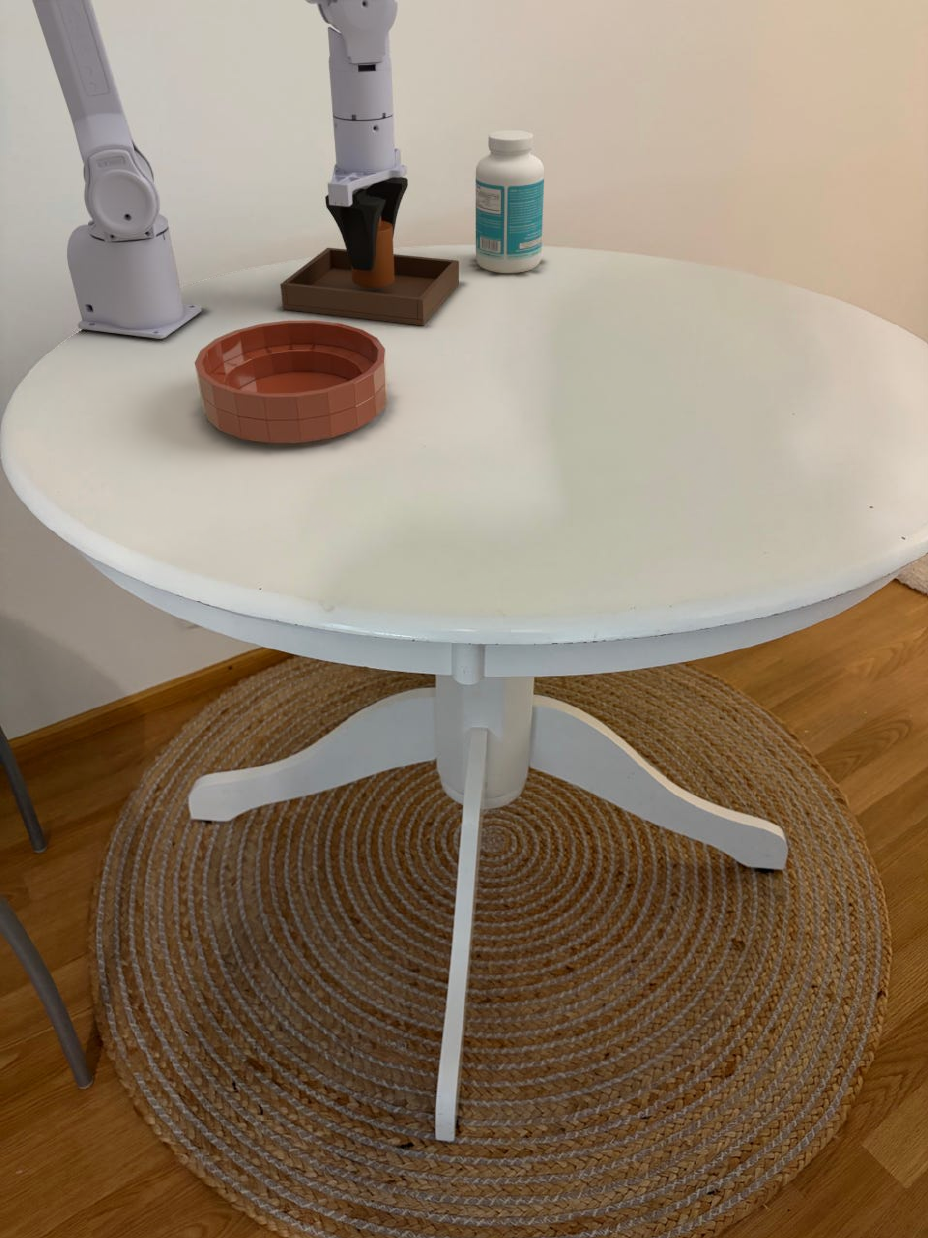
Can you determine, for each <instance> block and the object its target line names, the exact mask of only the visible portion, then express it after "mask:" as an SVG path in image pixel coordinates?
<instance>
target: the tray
mask: <svg viewBox="0 0 928 1238" xmlns="http://www.w3.org/2000/svg"><path fill="white" fill-rule="evenodd" d="M394 275H395V280H394V282H393V283H392V284H390V285H388V286H384V287H378V288H367V287H361V286H358V285H355V284H354V283H353V281H352V267H351V262H350V259H349V256H348V253H347V249H346V248H336V247H326V248H325V249H324V250H322V251H321V252H320V253H319V254H317V255H316V256H315V257H313V258H312V259H311V260H309V261H308V262H307V263H306V264H304V265H303V266H302V267H301V268H299V269H298V270H296V272H294V273H293V274H292V275H290V276H289V277H287V278H286V279H285V280H284V281H283V282H281V283H280V284H279V285H280V295H281V303H282V310H285V311H286V310H287V311H295V312H301V313H311V314H312V313H313V314H318V315H319V314H320V315H329V316H338V317H345V318H355V319H363V320H371V321H380V322H390V323H398V324H407V325H413V326H422V327H423V326H425V325H426V323H427V322H428V321H429V320H430V319H431V318H432V317H433V315H434V314H435V313H436V312H437V311H438V310H439V309H440V307H441V306H442V305H443V304H444V303H445V301H447V299H448V298H449V297H450V296H451V295H452V294H453V292H454V291H455V290H456V289H457V287H459V285H460V260H455V259H447V258H437V257H428V256H416V255H408V254H407V255H405V254H397V253H394Z"/></svg>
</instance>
